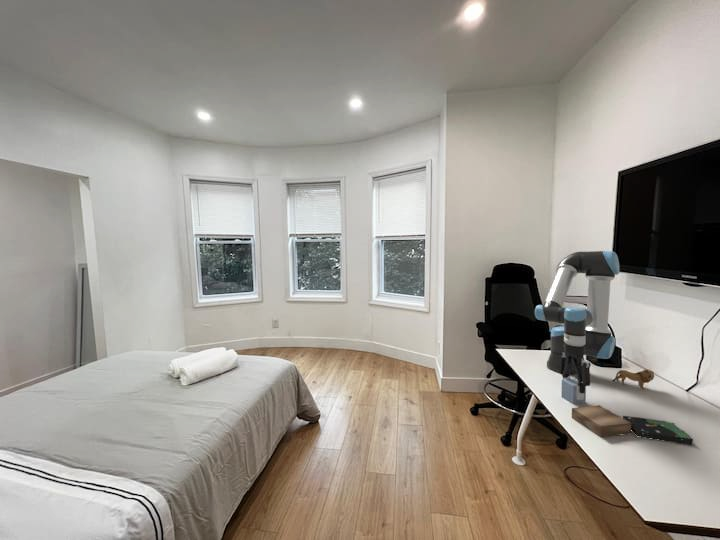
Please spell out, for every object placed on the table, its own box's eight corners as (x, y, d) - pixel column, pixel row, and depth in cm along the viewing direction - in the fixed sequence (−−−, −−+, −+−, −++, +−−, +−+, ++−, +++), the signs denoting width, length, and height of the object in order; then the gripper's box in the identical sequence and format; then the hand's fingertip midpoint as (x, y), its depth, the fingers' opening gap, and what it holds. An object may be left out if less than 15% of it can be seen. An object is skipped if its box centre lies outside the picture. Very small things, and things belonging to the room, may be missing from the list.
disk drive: (637, 438, 100) (693, 447, 95) (637, 431, 100) (694, 438, 95) (621, 422, 110) (672, 428, 105) (622, 415, 110) (672, 421, 105)
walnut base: (571, 417, 113) (571, 407, 112) (599, 415, 114) (599, 405, 114) (600, 437, 101) (600, 426, 101) (630, 433, 102) (631, 423, 102)
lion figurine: (652, 387, 135) (652, 368, 135) (655, 391, 131) (656, 372, 130) (611, 380, 144) (611, 362, 143) (612, 384, 139) (613, 366, 139)
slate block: (561, 397, 129) (561, 379, 128) (573, 395, 129) (574, 378, 129) (572, 403, 123) (573, 385, 122) (585, 402, 123) (585, 384, 123)
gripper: (549, 337, 133) (548, 386, 135) (586, 351, 115) (584, 407, 116) (564, 336, 134) (563, 385, 136) (603, 350, 115) (601, 406, 117)
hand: (573, 395), depth 126 cm, fingers closed on slate block, 6 cm apart
